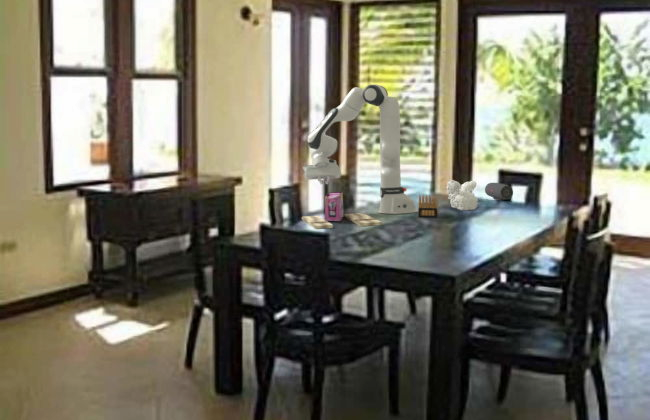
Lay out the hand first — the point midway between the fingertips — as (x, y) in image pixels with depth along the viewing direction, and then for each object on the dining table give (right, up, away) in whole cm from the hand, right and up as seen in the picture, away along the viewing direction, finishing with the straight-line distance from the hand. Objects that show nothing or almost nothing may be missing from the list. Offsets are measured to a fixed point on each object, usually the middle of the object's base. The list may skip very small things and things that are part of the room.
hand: (324, 183), depth 501 cm
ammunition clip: (+55, -19, -26) cm, 63 cm away
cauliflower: (+78, -14, +9) cm, 80 cm away
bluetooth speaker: (+106, -9, +47) cm, 116 cm away
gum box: (+5, -20, -19) cm, 28 cm away
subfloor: (+8, -21, -32) cm, 39 cm away
